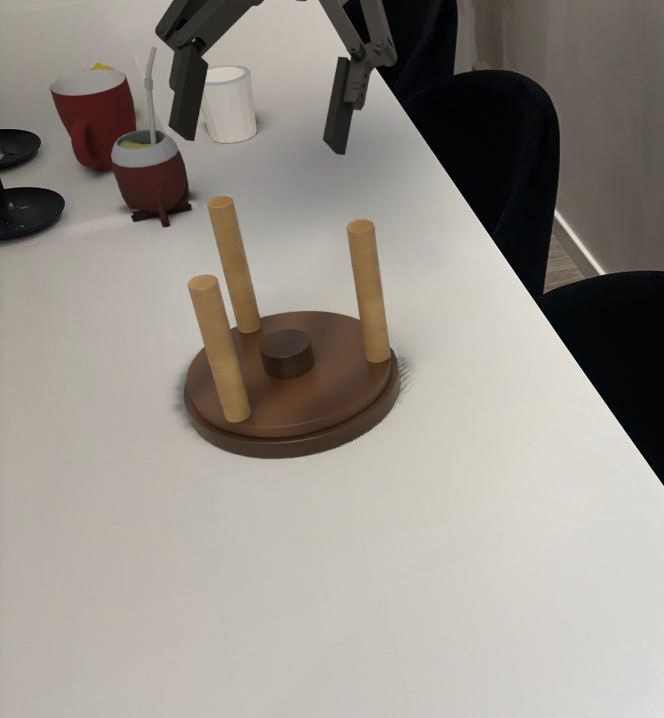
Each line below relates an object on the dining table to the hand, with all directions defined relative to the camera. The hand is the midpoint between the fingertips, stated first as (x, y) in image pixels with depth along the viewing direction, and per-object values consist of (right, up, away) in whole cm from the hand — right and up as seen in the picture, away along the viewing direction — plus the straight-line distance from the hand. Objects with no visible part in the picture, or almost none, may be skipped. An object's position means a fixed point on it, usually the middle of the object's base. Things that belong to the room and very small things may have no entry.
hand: (255, 141), depth 77 cm
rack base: (+3, -20, +1) cm, 20 cm away
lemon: (-27, +18, +43) cm, 54 cm away
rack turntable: (+3, -19, 0) cm, 19 cm away
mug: (-24, +9, +33) cm, 42 cm away
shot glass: (-12, +17, +41) cm, 46 cm away
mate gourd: (-16, +2, +26) cm, 30 cm away
